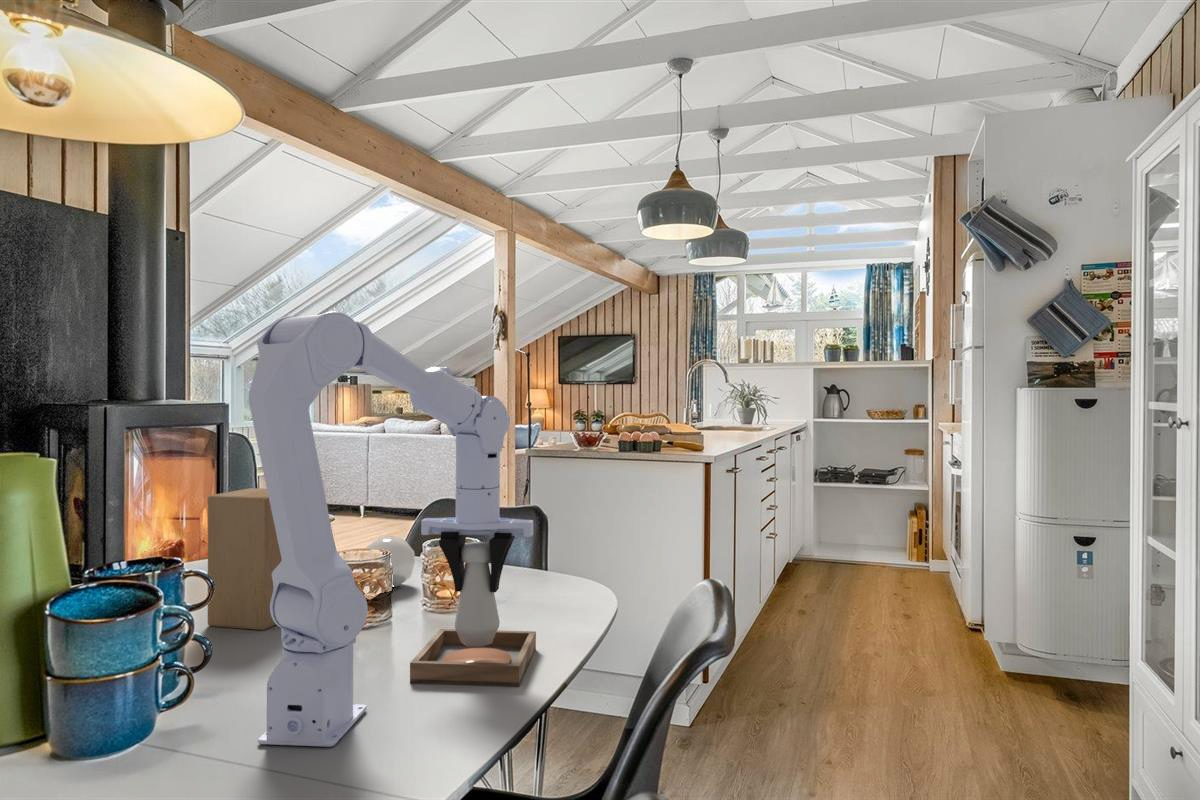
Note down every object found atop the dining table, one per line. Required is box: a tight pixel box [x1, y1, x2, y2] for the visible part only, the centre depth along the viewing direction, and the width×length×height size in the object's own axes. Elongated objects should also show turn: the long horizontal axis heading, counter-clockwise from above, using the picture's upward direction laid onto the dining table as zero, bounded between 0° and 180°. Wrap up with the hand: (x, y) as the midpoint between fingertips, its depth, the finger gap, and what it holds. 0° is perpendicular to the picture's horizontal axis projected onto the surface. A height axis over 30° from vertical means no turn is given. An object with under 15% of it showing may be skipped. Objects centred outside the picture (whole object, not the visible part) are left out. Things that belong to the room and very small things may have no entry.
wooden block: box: [207, 487, 282, 631], centre depth 120 cm, size 10×10×20 cm
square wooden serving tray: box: [409, 628, 537, 688], centre depth 101 cm, size 14×14×2 cm
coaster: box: [442, 648, 511, 664], centre depth 101 cm, size 9×9×1 cm
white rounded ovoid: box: [366, 535, 416, 588], centre depth 138 cm, size 9×10×15 cm
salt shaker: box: [454, 541, 501, 647], centre depth 100 cm, size 6×6×13 cm
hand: (477, 590), depth 100 cm, fingers closed on salt shaker, 4 cm apart
